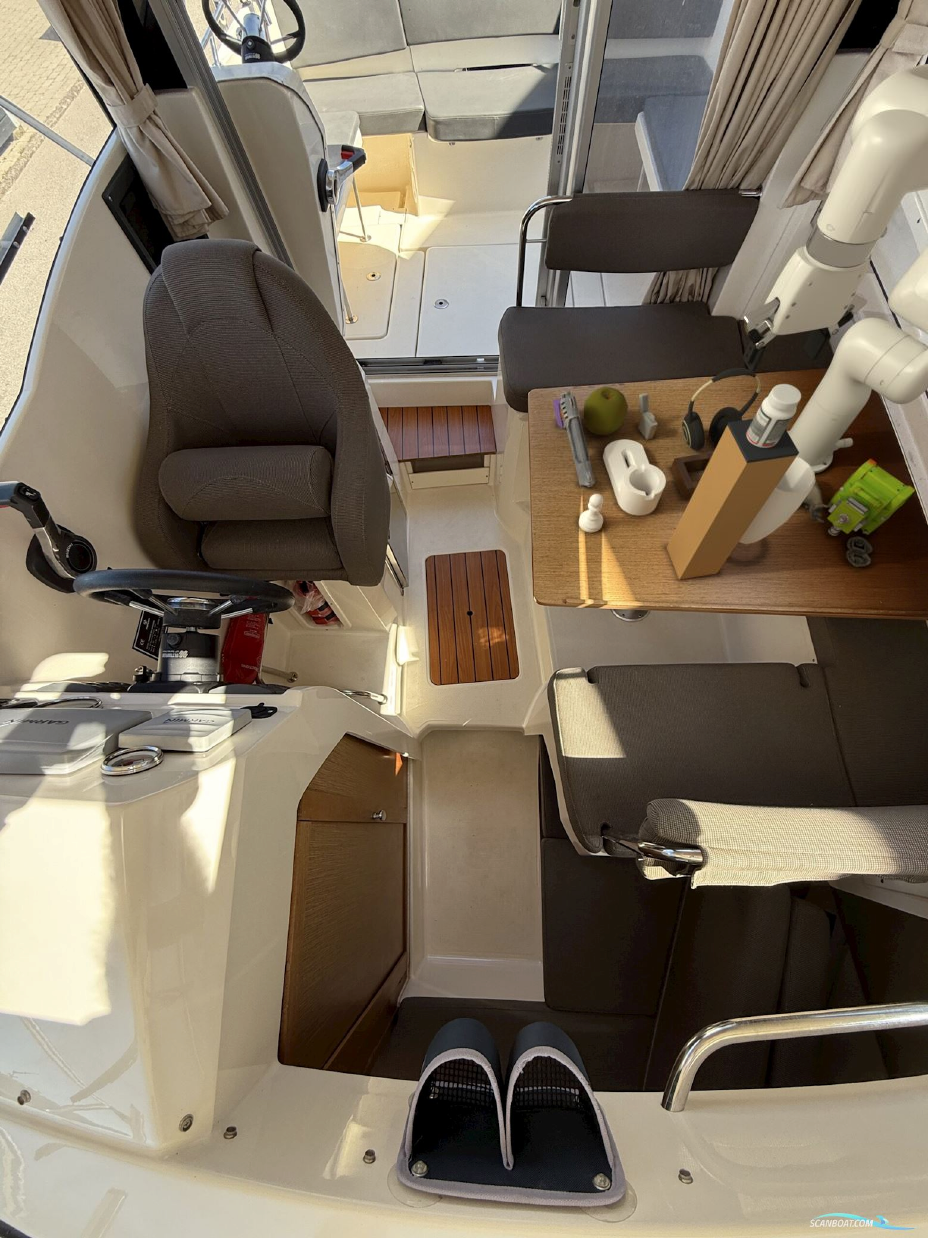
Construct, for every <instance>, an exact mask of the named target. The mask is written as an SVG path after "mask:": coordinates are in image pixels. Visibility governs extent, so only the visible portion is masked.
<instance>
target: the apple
mask: <svg viewBox="0 0 928 1238" xmlns="http://www.w3.org/2000/svg"><path fill="white" fill-rule="evenodd" d="M628 409H629V405H628V401H627V399H626V396H625V395H624V393H622V392H621V391H620V390H619V389H617V388H614V387H609V386H601V387H599V388H597V389H595V390H593V391H592V392H591V393H590V394H589V396H588V397H587V399H586V400H585V401H584V404H583V415H582V418H583V420H584V423H585V427H586V428H587V430H588V431H589V432H590V433H592V434H595V435H599V436H608V435H611V434H613V433H615V432H616V431H617V430H618V429H619V428H620V427H622V425H623V423H624V422H625V419H626V417H627V414H628Z"/></svg>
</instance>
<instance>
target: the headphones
mask: <svg viewBox="0 0 928 1238" xmlns="http://www.w3.org/2000/svg"><path fill="white" fill-rule="evenodd" d="M741 376H742V377H743V376H749V377H752V378H754V379H755V380H756V382H757V389H756V390H755V391H754V392H753V394H752V395H751V398H750V399H748V401H747V402H746V403H745V404H744V405H743V406H742V408H740V409H737V408H736V407H733V406H725V407H723V408H721V409H719V410H718V411H717V412H716V413H715V414H714V415H713V417H712V419H711V421H710V424H709V428H708V436H709V440H710V442H711V443H712V444H713V445H714V446H716V447H717V445H718V443H719V441H720V439H721V437H722V435H723V433H724V431H725V429H726V427H727V425H728V423H729V422H735V421H741V420H743V416H744V415H745V414H746V412H747V411H748V410H749V409H750V408H751V406H752V405H753V403H755V401H756V399H757V397H758V396H759V394H760V391H761V387H762V386H761V380H760V378H759V376H758V375H757V373H755V371H750V370H749V368H743V367H733V368H730V369H727V370H724V371H723V372H720V373H718V374H717V375H714V377H712V378H710V379H709V381H707V382H706V383H705V384H703V385H702V386H701V387H700V388H698V390H697V391H695V393H694V394H693V396H692V397H691V399H690V401H689V404H688V407H687V413H686V414H685V415H684V417H683V420H682V421H681V431H682V435H683V438H684V441H685V444H686V445H687V447H688V448H690V449H691V450H693V451H699V450H702V449H703V448H704V447H705V445H706V432H705V428H704V424H703V421H702V418H701V417H700V414H699V413H698V412H697V411H695V410H694V405H695V402H696V401H695V400H696V398H697V397H698V395H699V394H700V393H701V392H703V390H704V389H705V388H707V387H709V386H710V385H711V384H712V383H716V382H718V381H721V380H725V379H727V378H734V377H735V378H736V377H741ZM693 410H694V411H693Z"/></svg>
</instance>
